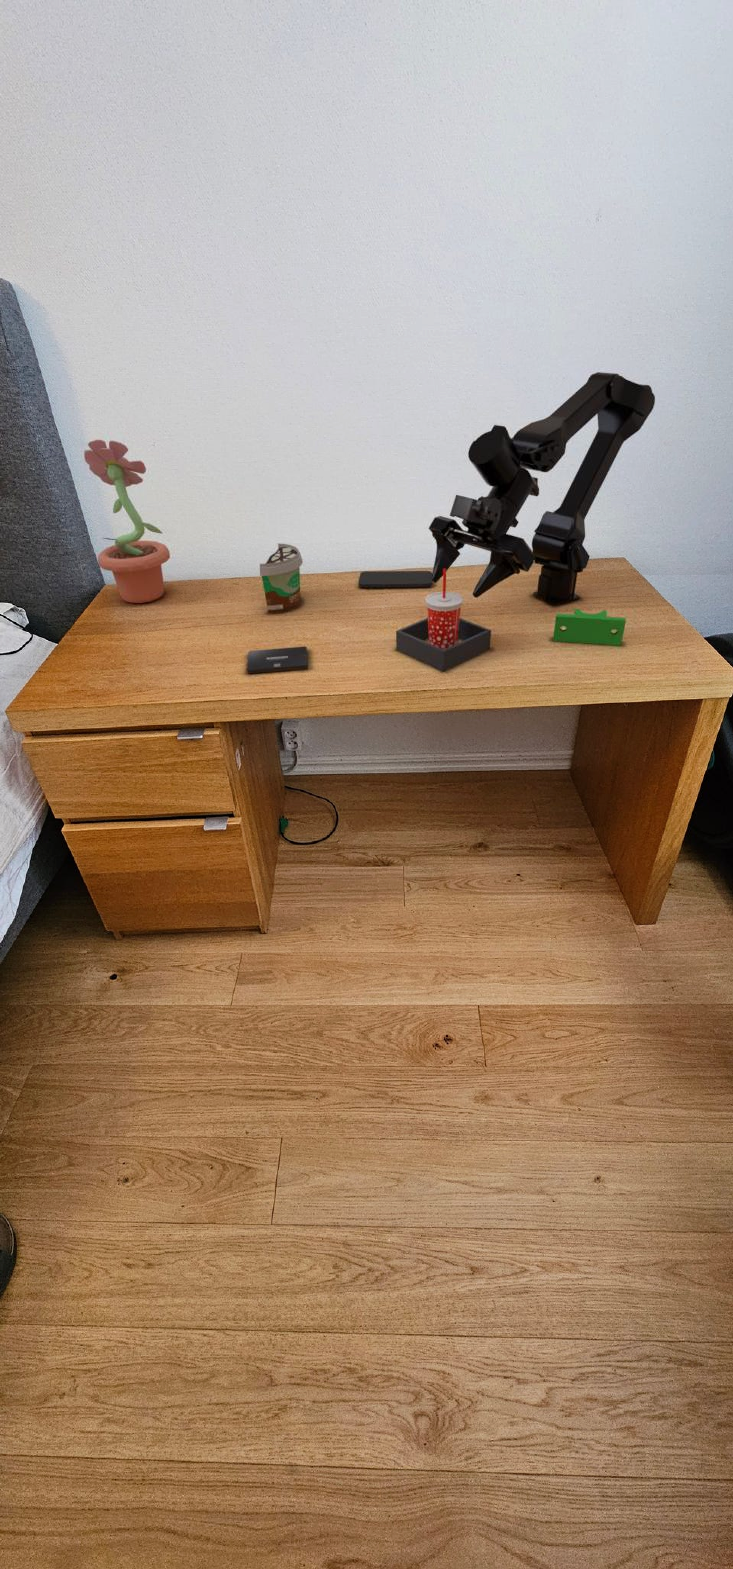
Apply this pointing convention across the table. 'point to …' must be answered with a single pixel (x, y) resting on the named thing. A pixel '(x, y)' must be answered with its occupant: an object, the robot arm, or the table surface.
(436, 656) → the box
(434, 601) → the beverage cup
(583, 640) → the pipe clamp
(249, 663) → the solid state drive
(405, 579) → the phone
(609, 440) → the robot arm
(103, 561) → the decorative flower
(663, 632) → the table surface
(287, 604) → the food container
